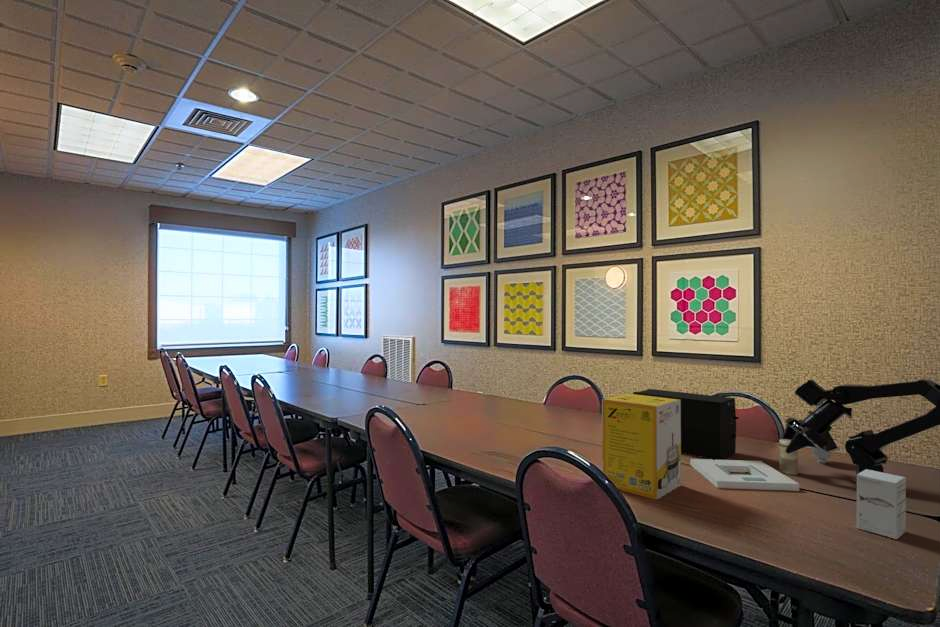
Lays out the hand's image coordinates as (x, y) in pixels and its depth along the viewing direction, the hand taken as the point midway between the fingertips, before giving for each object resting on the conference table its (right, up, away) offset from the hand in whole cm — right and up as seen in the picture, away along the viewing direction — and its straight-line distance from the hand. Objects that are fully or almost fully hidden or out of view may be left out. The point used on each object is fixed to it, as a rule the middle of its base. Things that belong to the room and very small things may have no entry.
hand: (783, 449), depth 151 cm
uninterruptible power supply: (-19, -8, +28) cm, 34 cm away
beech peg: (+1, -7, 0) cm, 7 cm away
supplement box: (-5, -7, -42) cm, 43 cm away
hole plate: (-16, -7, -5) cm, 18 cm away
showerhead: (+20, -7, +11) cm, 24 cm away
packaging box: (-49, -7, -12) cm, 51 cm away
